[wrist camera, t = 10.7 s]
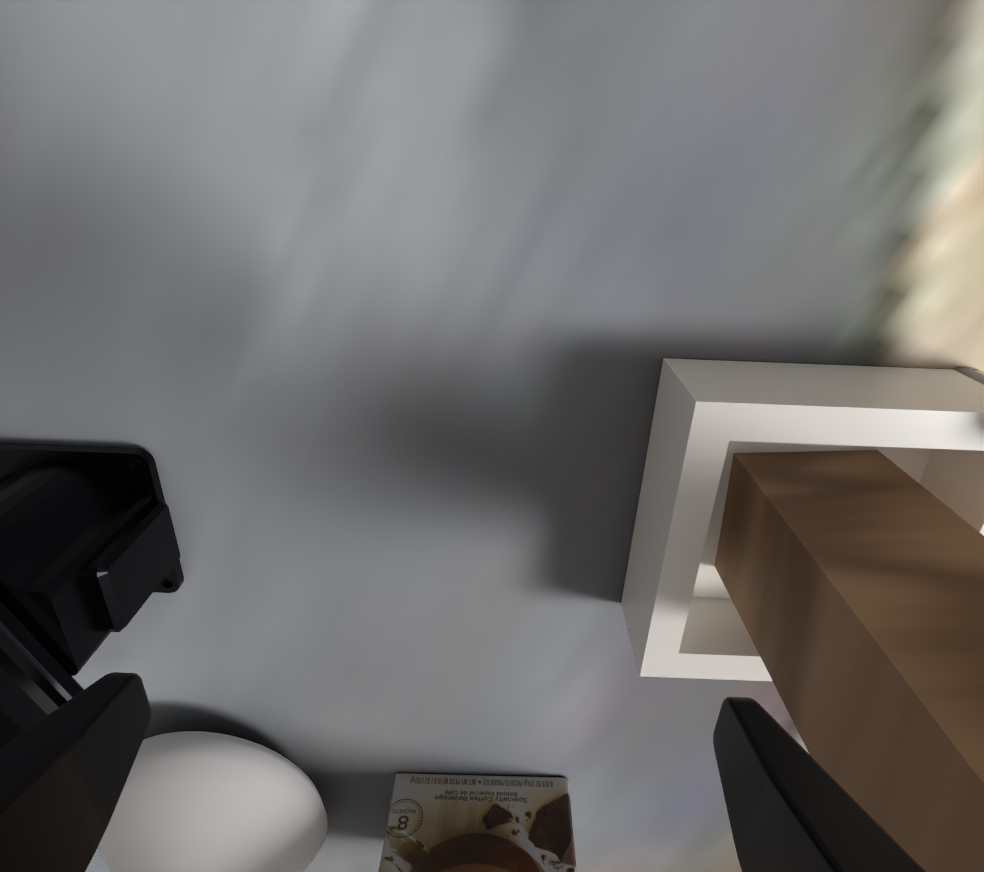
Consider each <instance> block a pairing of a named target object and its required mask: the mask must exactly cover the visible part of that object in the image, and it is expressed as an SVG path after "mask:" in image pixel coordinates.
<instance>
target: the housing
mask: <svg viewBox="0 0 984 872" xmlns="http://www.w3.org/2000/svg"><path fill="white" fill-rule="evenodd" d="M855 450H878V451H879V452H881V453H882V454H883V455H884V456H886V457H887V458H888V459H889V460H891V461H892V462H893V463H894V464H896V465H897V466H898V467H899V468H901V469H902V470H903V471H904V472H905V473H907V474H908V475H909V476H910V477H912V478H913V479H914V480H915V481H917V482H918V483H919V484H920V485H922V486H923V487H924V488H925V489H927V490H928V491H929V492H930V493H931V494H933V495H934V496H935V497H936V498H938V499H939V500H940V501H941V502H943V503H944V504H945V505H946V506H948V507H949V508H950V509H951V510H952V511H954V512H955V513H956V514H957V515H959V516H960V517H961V518H962V519H964V520H965V521H966V522H967V523H969V524H970V525H971V526H972V527H974V528H975V529H976V530H977V531H978V532H980V533H981V534H982V535H983V536H984V372H983V371H977V370H973V369H971V368H968V367H961V368H956V369H953V370H951V369H925V368H900V367H874V366H849V365H823V364H797V363H772V362H746V361H720V360H695V359H669V358H663V363H662V368H661V374H660V380H659V386H658V392H657V398H656V403H655V409H654V415H653V421H652V427H651V432H650V438H649V444H648V450H647V456H646V462H645V467H644V473H643V479H642V485H641V491H640V496H639V502H638V508H637V514H636V520H635V526H634V531H633V537H632V543H631V549H630V555H629V560H628V566H627V572H626V578H625V584H624V590H623V595H622V601H621V606H622V609H623V613H624V617H625V621H626V625H627V629H628V632H629V636H630V640H631V644H632V648H633V652H634V656H635V659H636V663H637V667H638V671H639V675H640V676H647V677H673V678H700V679H726V680H752V681H772V679H771V677H770V675H769V673H768V671H767V669H766V667H765V665H764V663H763V661H762V659H761V657H760V655H759V653H758V651H757V649H756V647H755V645H754V643H753V641H752V639H751V637H750V635H749V633H748V631H747V629H746V627H745V625H744V623H743V621H742V619H741V617H740V615H739V613H738V611H737V609H736V608H735V606H734V604H733V602H732V600H731V598H730V596H729V594H728V592H727V590H726V588H725V586H724V584H723V582H722V580H721V578H720V576H719V574H718V572H717V570H716V568H715V561H716V555H717V549H718V543H719V537H720V531H721V525H722V519H723V513H724V507H725V501H726V495H727V489H728V484H729V478H730V472H731V466H732V460H733V454H734V453H759V452H807V451H855Z"/></svg>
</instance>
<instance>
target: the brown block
mask: <svg viewBox="0 0 984 872" xmlns="http://www.w3.org/2000/svg"><path fill="white" fill-rule="evenodd" d="M715 568H716V570H717V572H718V574H719V576H720V578H721V580H722V582H723V584H724V586H725V588H726V590H727V592H728V594H729V596H730V598H731V600H732V602H733V604H734V606H735V608H736V609H737V611H738V613H739V615H740V617H741V619H742V621H743V623H744V625H745V627H746V629H747V631H748V633H749V635H750V637H751V639H752V641H753V643H754V645H755V647H756V649H757V651H758V653H759V655H760V657H761V659H762V661H763V663H764V665H765V667H766V669H767V671H768V673H769V675H770V677H771V679H772V681H773V683H774V685H775V687H776V689H777V690H778V692H779V694H780V696H781V698H782V700H783V702H784V704H785V706H786V708H787V710H788V712H789V714H790V716H791V718H792V720H793V722H794V724H795V726H796V728H797V730H798V732H799V734H800V736H801V738H802V740H803V742H804V744H805V746H806V748H807V750H808V752H809V754H810V756H811V757H812V758H813V759H814V760H815V761H816V762H817V763H818V764H819V765H820V766H821V767H822V768H823V769H824V770H825V771H826V772H827V773H828V774H829V775H830V776H831V777H832V778H833V779H834V780H835V781H836V782H837V783H838V784H839V785H840V786H841V787H842V788H843V789H844V790H845V791H846V792H847V793H848V794H849V795H850V796H851V797H852V798H853V799H854V800H855V801H856V802H857V803H858V804H859V805H860V806H861V807H862V808H863V809H864V810H865V811H866V812H867V813H868V814H869V815H870V816H871V817H872V818H873V819H874V820H875V821H876V822H877V823H878V824H879V825H880V826H881V827H882V828H883V829H884V830H885V831H886V832H887V833H888V834H889V835H890V836H891V837H892V838H893V839H894V840H895V841H896V842H897V843H898V844H899V845H900V846H901V847H902V848H903V849H904V850H905V851H906V852H907V853H908V854H909V855H910V856H911V857H912V858H913V859H914V860H915V861H916V862H917V863H918V864H919V865H920V866H921V867H922V868H923V869H924V870H925V871H926V872H984V536H983V535H982V534H981V533H980V532H978V531H977V530H976V529H975V528H974V527H972V526H971V525H970V524H969V523H967V522H966V521H965V520H964V519H962V518H961V517H960V516H959V515H957V514H956V513H955V512H954V511H952V510H951V509H950V508H949V507H948V506H946V505H945V504H944V503H943V502H941V501H940V500H939V499H938V498H936V497H935V496H934V495H933V494H931V493H930V492H929V491H928V490H927V489H925V488H924V487H923V486H922V485H920V484H919V483H918V482H917V481H915V480H914V479H913V478H912V477H910V476H909V475H908V474H907V473H905V472H904V471H903V470H902V469H901V468H899V467H898V466H897V465H896V464H894V463H893V462H892V461H891V460H889V459H888V458H887V457H886V456H884V455H883V454H882V453H881V452H879V451H878V450H855V451H807V452H759V453H734V454H733V460H732V466H731V472H730V478H729V484H728V489H727V495H726V501H725V507H724V513H723V519H722V525H721V531H720V537H719V543H718V549H717V555H716V561H715Z"/></svg>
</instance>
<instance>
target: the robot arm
mask: <svg viewBox="0 0 984 872" xmlns="http://www.w3.org/2000/svg"><path fill="white" fill-rule="evenodd" d="M135 460H138V461H139V462H140V463H141V464H142V466H139V465H138V464H137V463H136V462H135ZM179 558H180V552H179V548H178V544H177V540H176V536H175V532H174V528H173V524H172V520H171V516H170V512H169V507H168V506H167V504H166V503H165V500H164V496H163V492H162V488H161V484H160V480H159V475H158V471H157V467H156V463H155V460H154V458H153V456H152V455H151V454H150V453H149V452H147V451H145V450H143V449H136V448H110V447H84V446H58V445H32V444H7V443H0V872H85V871H86V869H87V867H88V865H89V863H90V861H91V859H92V857H93V855H94V853H95V851H96V849H97V847H98V845H99V843H100V841H101V839H102V837H103V835H104V833H105V831H106V829H107V826H108V824H109V822H110V820H111V817H112V815H113V813H114V810H115V808H116V805H117V803H118V800H119V798H120V795H121V793H122V791H123V788H124V786H125V783H126V781H127V778H128V776H129V773H130V771H131V768H132V766H133V764H134V761H135V759H136V756H137V754H138V751H139V749H140V746H141V744H142V741H143V739H144V737H145V734H146V732H147V729H148V727H149V723H150V719H151V708H150V705H149V701H148V698H147V695H146V692H145V689H144V686H143V682H142V679H141V677H140V676H139V675H137V674H135V673H117V672H116V673H110V674H107V675H105V676H104V677H102V678H101V679H99V680H98V681H96V682H95V683H93V684H92V685H90V686H89V687H88V688H86V689H85V690H84V689H83V688H82V687H81V686H80V684H79V683H78V682H77V681H76V680H75V679H74V678H73V677H72V676H74V675H76V674H77V673H78V672H79V671H80V669H81V668H82V667H83V666H84V664H85V663H86V662H87V661H88V660H89V658H90V657H91V656H92V655H93V653H94V652H95V651H96V650H97V648H98V647H99V646H100V645H101V643H102V642H103V641H104V640H105V638H106V637H107V636H108V635H109V634H110V632H120V631H121V630H122V629H123V628H125V627H126V626H127V624H128V623H129V622H130V621H131V619H132V618H133V617H134V615H135V614H136V613H137V612H138V610H139V609H140V608H141V607H142V605H143V604H144V603H145V601H146V600H147V599H148V598H149V596H150V595H151V594H152V593H153V592H162V593H172V592H175V591H177V590H178V588H179V587H180V586H181V584H182V583H183V581H184V576H183V572H182V568H181V564H180V560H179ZM168 579H169V580H171V581H169V580H168ZM713 743H714V750H715V755H716V760H717V764H718V769H719V774H720V778H721V783H722V787H723V792H724V797H725V801H726V806H727V811H728V815H729V820H730V825H731V829H732V834H733V839H734V843H735V847H736V851H737V855H738V859H739V862H740V866H741V869H742V872H926V871H925V870H924V869H923V868H922V867H921V866H920V865H919V864H918V863H917V862H916V861H915V860H914V859H913V858H912V857H911V856H910V855H909V854H908V853H907V852H906V851H905V850H904V849H903V848H902V847H901V846H900V845H899V844H898V843H897V842H896V841H895V840H894V839H893V838H892V837H891V836H890V835H889V834H888V833H887V832H886V831H885V830H884V829H883V828H882V827H881V826H880V825H879V824H878V823H877V822H876V821H875V820H874V819H873V818H872V817H871V816H870V815H869V814H868V813H867V812H866V811H865V810H864V809H863V808H862V807H861V806H860V805H859V804H858V803H857V802H856V801H855V800H854V799H853V798H852V797H851V796H850V795H849V794H848V793H847V792H846V791H845V790H844V789H843V788H842V787H841V786H840V785H839V784H838V783H837V782H836V781H835V780H834V779H833V778H832V777H831V776H830V775H829V774H828V773H827V772H826V771H825V770H824V769H823V768H822V767H821V766H820V765H819V764H818V763H817V762H816V761H815V760H814V759H813V758H812V757H811V756H810V755H809V754H808V753H807V752H806V751H805V750H804V749H803V748H802V747H801V746H800V745H799V744H798V743H797V742H796V741H795V740H794V739H793V738H792V737H791V736H790V735H789V734H788V733H787V732H786V731H785V730H784V729H783V728H782V727H781V726H780V725H779V724H778V723H777V722H776V721H775V720H774V718H773V717H772V716H771V715H770V714H769V713H768V712H767V711H766V710H765V709H764V708H763V707H762V706H761V705H760V704H759V703H757V702H756V701H755V700H753V699H751V698H742V697H727V698H726V699H725V700H724V701H723V703H722V706H721V710H720V713H719V716H718V720H717V723H716V726H715V730H714V735H713Z"/></svg>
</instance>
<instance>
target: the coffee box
mask: <svg viewBox="0 0 984 872" xmlns="http://www.w3.org/2000/svg"><path fill="white" fill-rule="evenodd" d="M379 872H577V871H576V860H575V849H574V839H573V829H572V816H571V804H570V789H569V780H568V779H566V778H557V777H515V776H479V775H443V774H409V773H398V774H396V776H395V780H394V786H393V792H392V798H391V803H390V810H389V816H388V822H387V828H386V834H385V839H384V845H383V851H382V856H381V861H380V867H379Z"/></svg>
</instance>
